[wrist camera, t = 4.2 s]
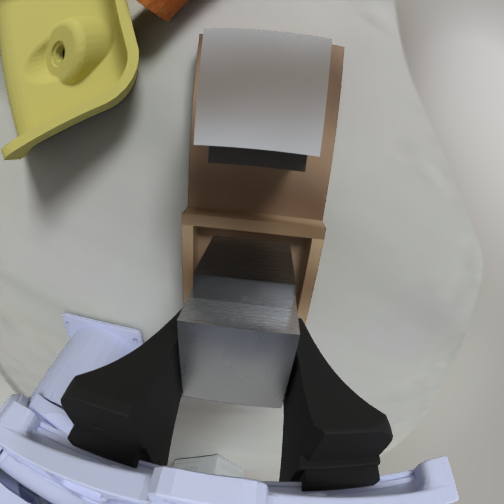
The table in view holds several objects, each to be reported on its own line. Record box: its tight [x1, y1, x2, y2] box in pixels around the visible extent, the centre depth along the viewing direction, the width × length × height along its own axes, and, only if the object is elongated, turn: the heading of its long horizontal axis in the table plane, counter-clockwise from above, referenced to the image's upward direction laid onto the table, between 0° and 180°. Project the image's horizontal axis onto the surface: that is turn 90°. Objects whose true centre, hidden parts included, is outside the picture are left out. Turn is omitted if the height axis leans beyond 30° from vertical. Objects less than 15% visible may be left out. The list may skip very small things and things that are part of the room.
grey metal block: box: [177, 235, 300, 408], centre depth 13 cm, size 5×4×6 cm
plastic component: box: [0, 0, 139, 160], centre depth 9 cm, size 20×7×10 cm
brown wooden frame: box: [182, 29, 344, 324], centre depth 13 cm, size 18×7×7 cm, turn 175°
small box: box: [173, 455, 244, 478], centre depth 27 cm, size 8×6×13 cm
